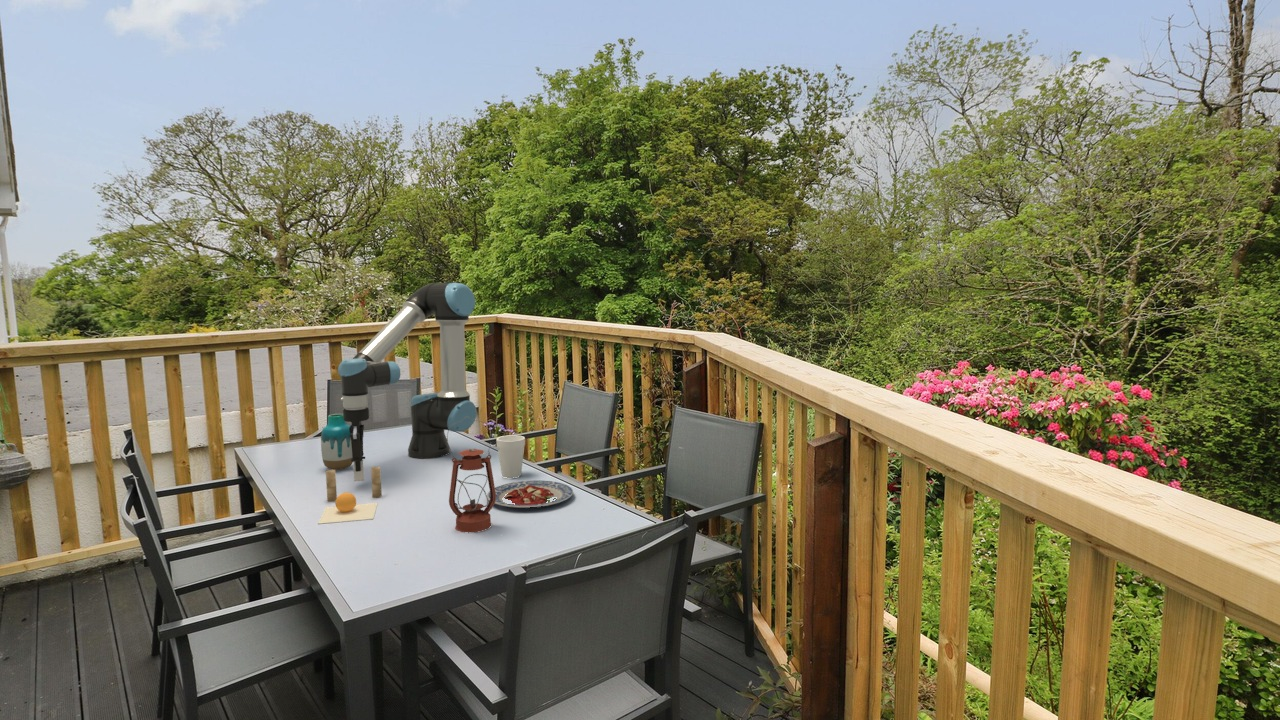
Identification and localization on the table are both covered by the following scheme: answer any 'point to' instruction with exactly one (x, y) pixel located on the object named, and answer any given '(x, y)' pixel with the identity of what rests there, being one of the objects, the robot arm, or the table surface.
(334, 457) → the vase
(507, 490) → the ceramic plate
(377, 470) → the right post
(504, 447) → the foam cup
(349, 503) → the ball
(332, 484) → the left post
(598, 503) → the table surface
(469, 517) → the lantern
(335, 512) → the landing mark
